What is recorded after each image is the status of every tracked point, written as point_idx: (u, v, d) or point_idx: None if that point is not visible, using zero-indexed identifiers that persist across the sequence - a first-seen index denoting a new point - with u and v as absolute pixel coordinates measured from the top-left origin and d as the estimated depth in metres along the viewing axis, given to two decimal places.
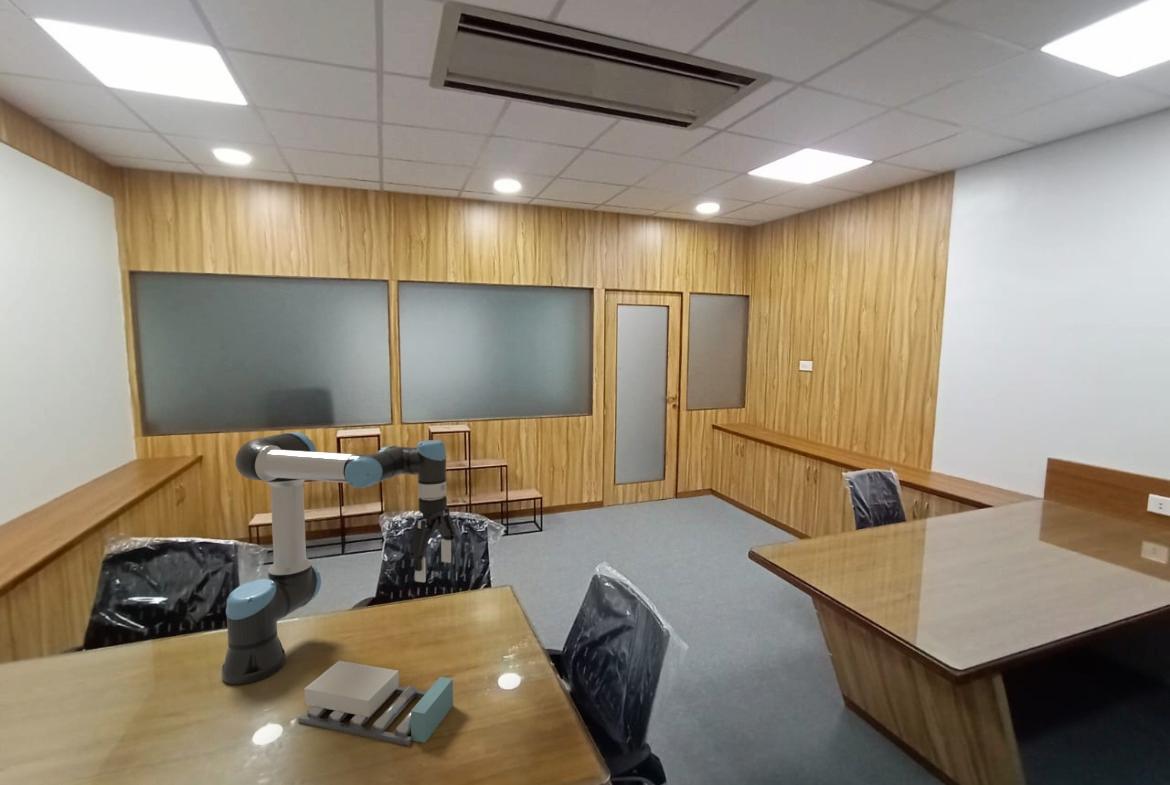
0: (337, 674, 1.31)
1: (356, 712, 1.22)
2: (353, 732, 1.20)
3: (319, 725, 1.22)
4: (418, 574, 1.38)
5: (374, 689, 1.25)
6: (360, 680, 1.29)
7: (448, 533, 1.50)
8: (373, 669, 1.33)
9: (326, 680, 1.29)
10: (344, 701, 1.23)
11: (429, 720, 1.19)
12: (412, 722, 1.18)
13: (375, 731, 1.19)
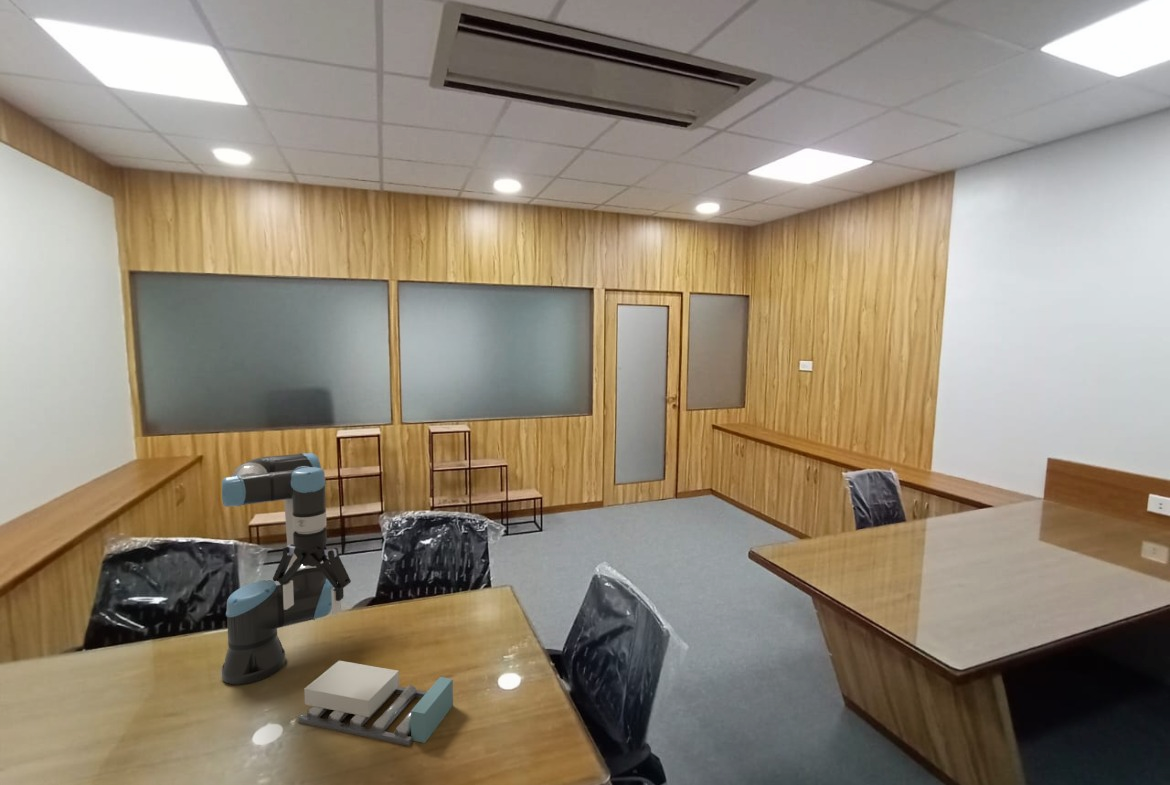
0: (337, 674, 1.31)
1: (356, 712, 1.22)
2: (353, 732, 1.20)
3: (319, 725, 1.22)
4: None
5: (374, 689, 1.25)
6: (360, 680, 1.29)
7: (330, 580, 1.30)
8: (373, 669, 1.33)
9: (326, 680, 1.29)
10: (344, 701, 1.23)
11: (429, 720, 1.19)
12: (412, 722, 1.18)
13: (375, 731, 1.19)
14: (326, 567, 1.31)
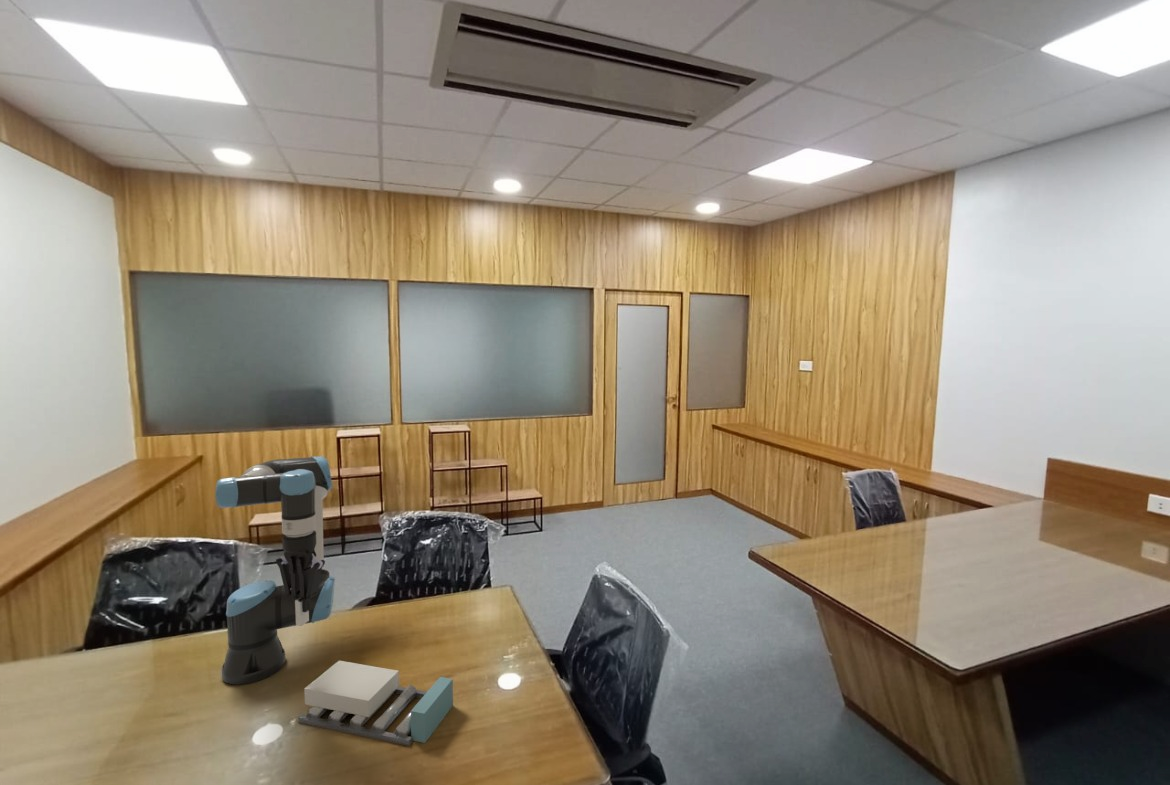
0: (337, 674, 1.31)
1: (356, 712, 1.22)
2: (353, 732, 1.20)
3: (319, 725, 1.22)
4: None
5: (374, 689, 1.25)
6: (360, 680, 1.29)
7: (301, 589, 1.30)
8: (373, 669, 1.33)
9: (326, 680, 1.29)
10: (344, 701, 1.23)
11: (429, 720, 1.19)
12: (412, 722, 1.18)
13: (375, 731, 1.19)
14: (305, 576, 1.30)
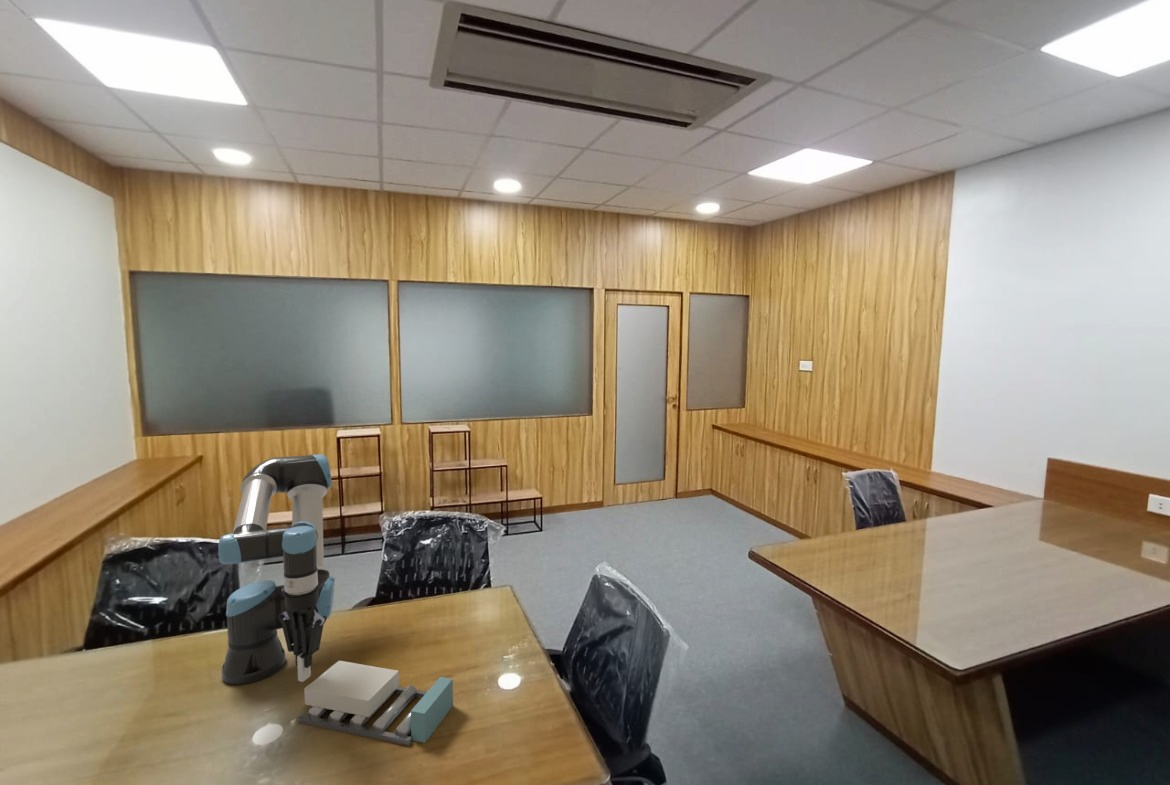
0: (337, 674, 1.31)
1: (356, 712, 1.22)
2: (353, 732, 1.20)
3: (319, 725, 1.22)
4: None
5: (374, 689, 1.25)
6: (360, 680, 1.29)
7: (303, 646, 1.31)
8: (373, 669, 1.33)
9: (326, 680, 1.29)
10: (344, 701, 1.23)
11: (429, 720, 1.19)
12: (412, 722, 1.18)
13: (375, 731, 1.19)
14: (307, 632, 1.31)
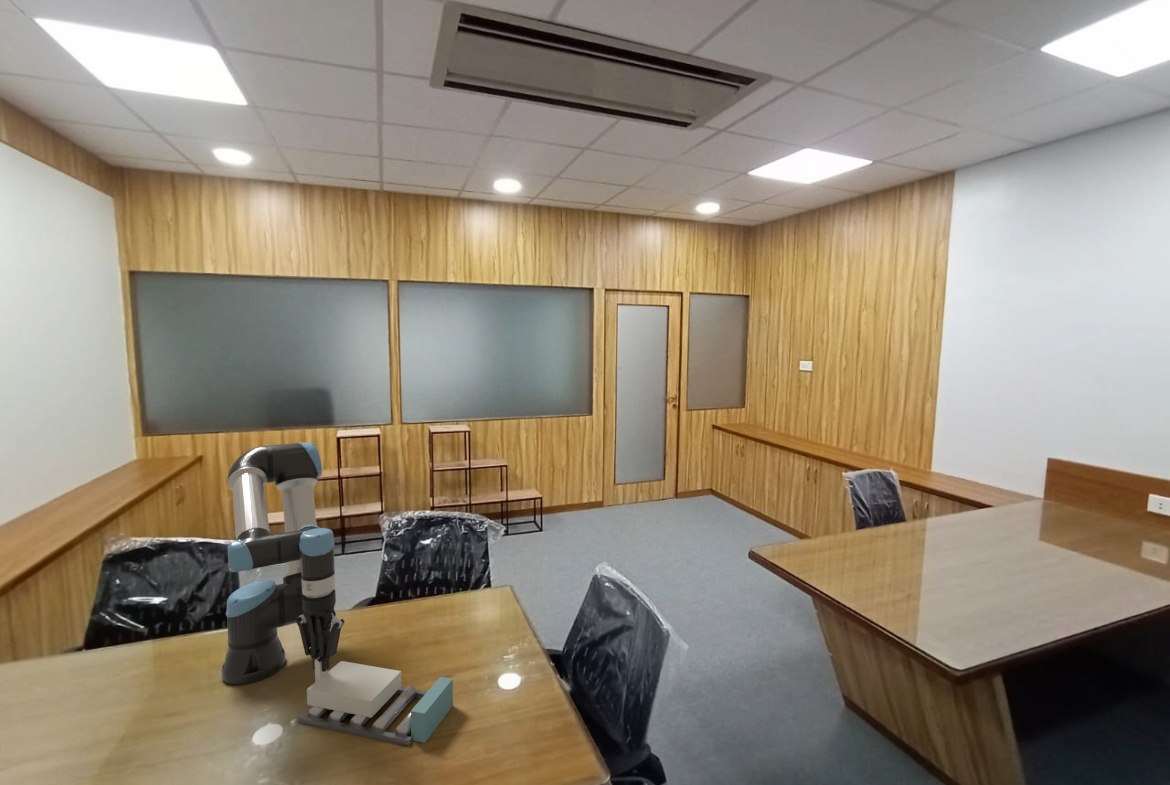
0: (339, 675, 1.31)
1: (359, 713, 1.22)
2: (353, 732, 1.20)
3: (319, 725, 1.22)
4: None
5: (376, 690, 1.25)
6: (363, 680, 1.29)
7: (321, 649, 1.29)
8: (375, 669, 1.33)
9: (329, 680, 1.29)
10: (346, 702, 1.23)
11: (429, 720, 1.19)
12: (412, 722, 1.18)
13: (375, 731, 1.19)
14: (325, 635, 1.29)
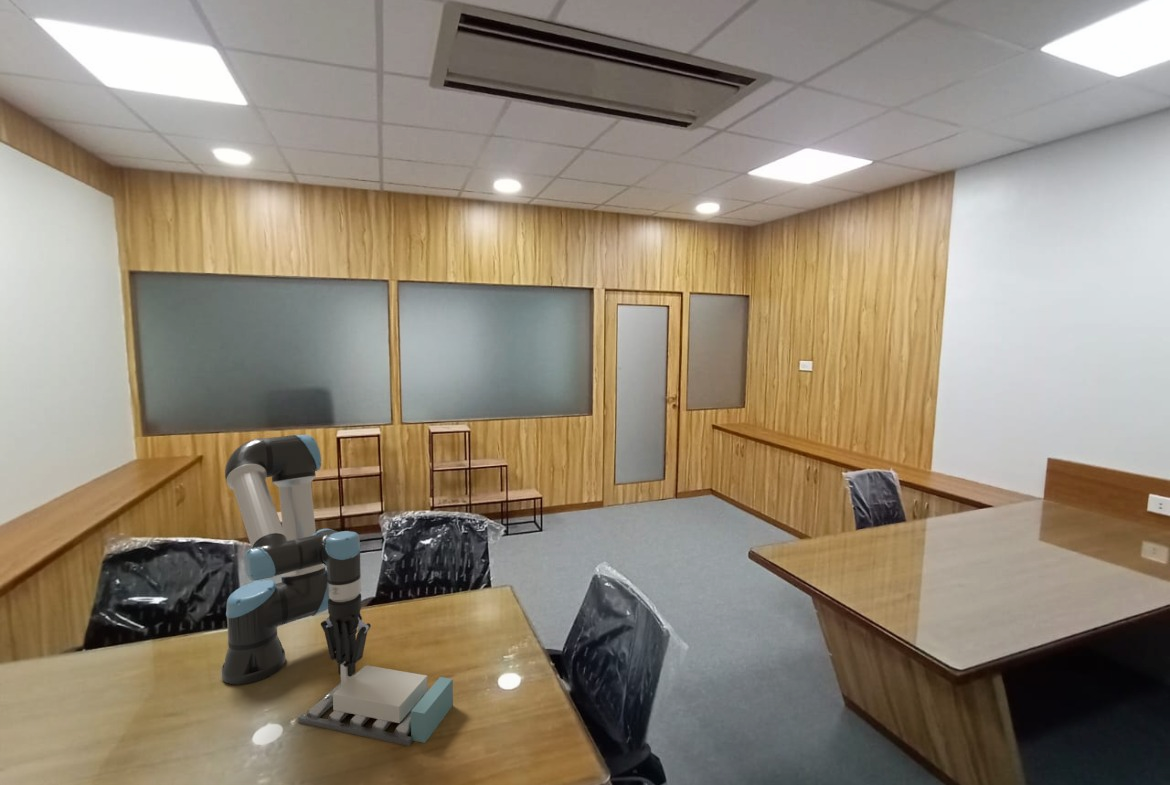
0: (365, 679, 1.29)
1: (386, 718, 1.20)
2: (353, 732, 1.20)
3: (319, 725, 1.22)
4: None
5: (403, 695, 1.23)
6: (389, 685, 1.27)
7: (347, 654, 1.28)
8: (401, 674, 1.31)
9: (355, 685, 1.27)
10: (374, 707, 1.21)
11: (429, 720, 1.19)
12: (412, 722, 1.18)
13: (375, 731, 1.19)
14: (351, 640, 1.28)
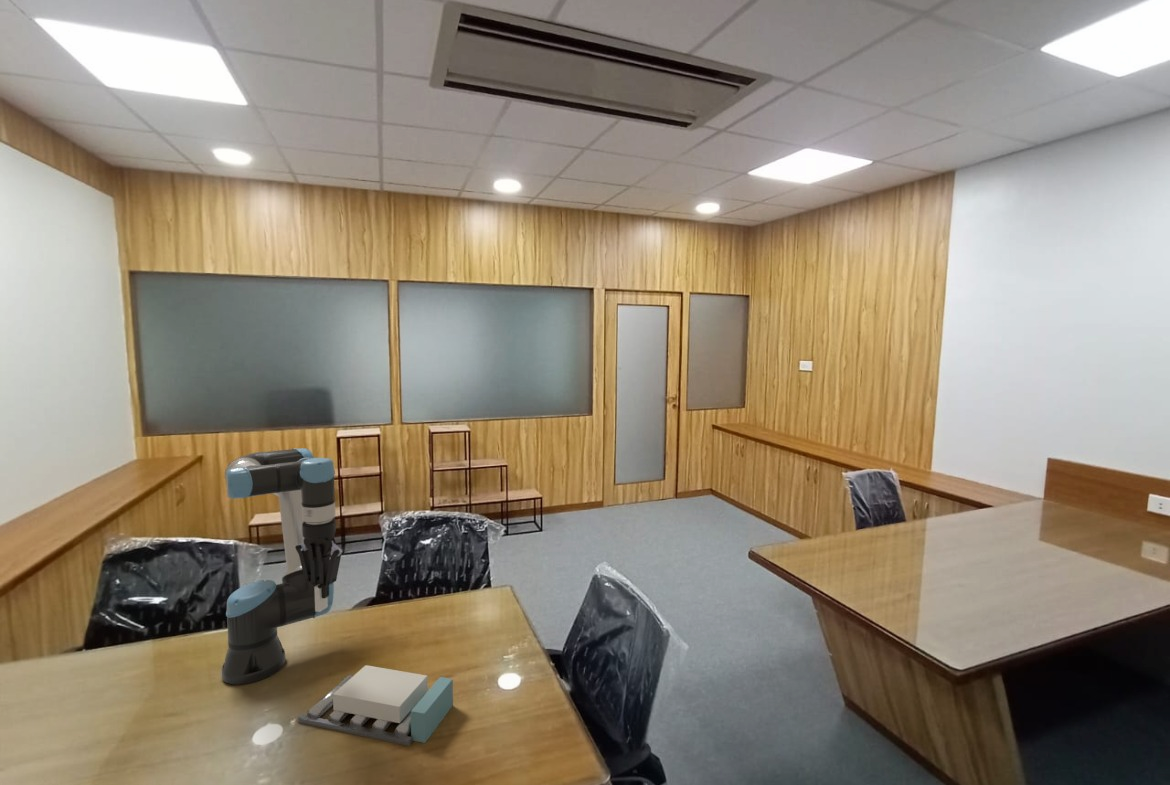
0: (365, 679, 1.29)
1: (386, 718, 1.20)
2: (353, 732, 1.20)
3: (319, 725, 1.22)
4: None
5: (404, 695, 1.23)
6: (389, 685, 1.27)
7: (320, 576, 1.31)
8: (401, 674, 1.31)
9: (355, 685, 1.27)
10: (374, 707, 1.21)
11: (429, 720, 1.19)
12: (412, 722, 1.18)
13: (375, 731, 1.19)
14: (325, 563, 1.31)
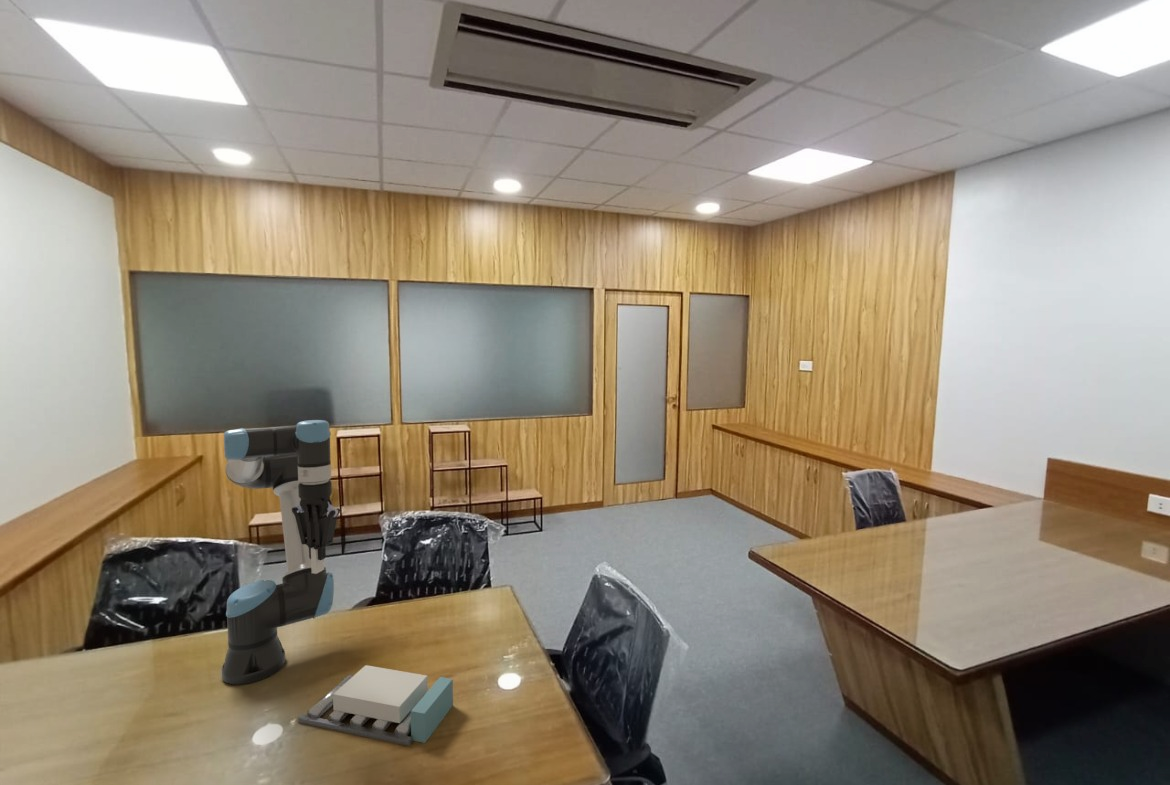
0: (365, 679, 1.29)
1: (386, 718, 1.20)
2: (353, 732, 1.20)
3: (319, 725, 1.22)
4: None
5: (404, 695, 1.23)
6: (389, 685, 1.27)
7: (317, 537, 1.31)
8: (401, 674, 1.31)
9: (355, 685, 1.27)
10: (374, 707, 1.21)
11: (429, 720, 1.19)
12: (412, 722, 1.18)
13: (375, 731, 1.19)
14: (321, 524, 1.31)
